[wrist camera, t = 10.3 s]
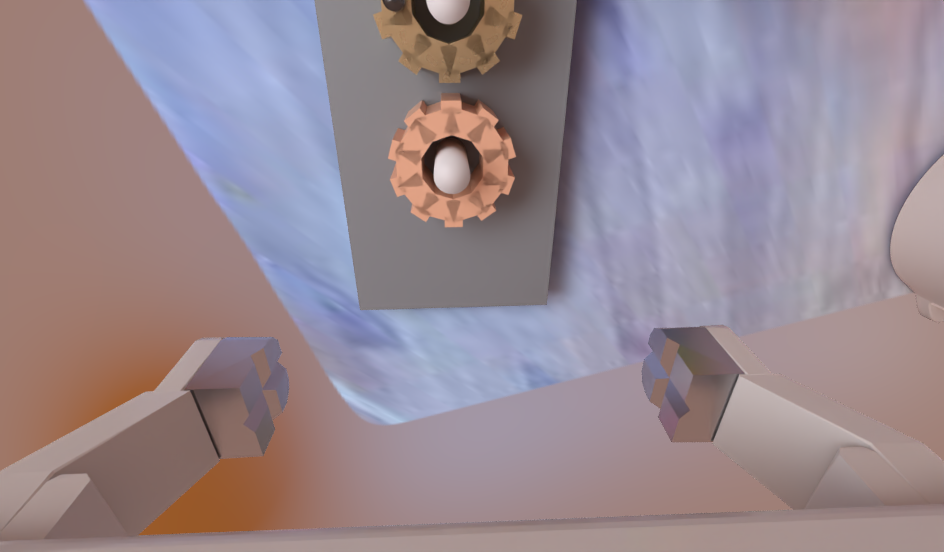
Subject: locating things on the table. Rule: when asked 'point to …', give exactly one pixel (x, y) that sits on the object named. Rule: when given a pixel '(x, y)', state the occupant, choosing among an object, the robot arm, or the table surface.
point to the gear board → (382, 110)
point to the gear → (440, 54)
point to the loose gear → (441, 123)
